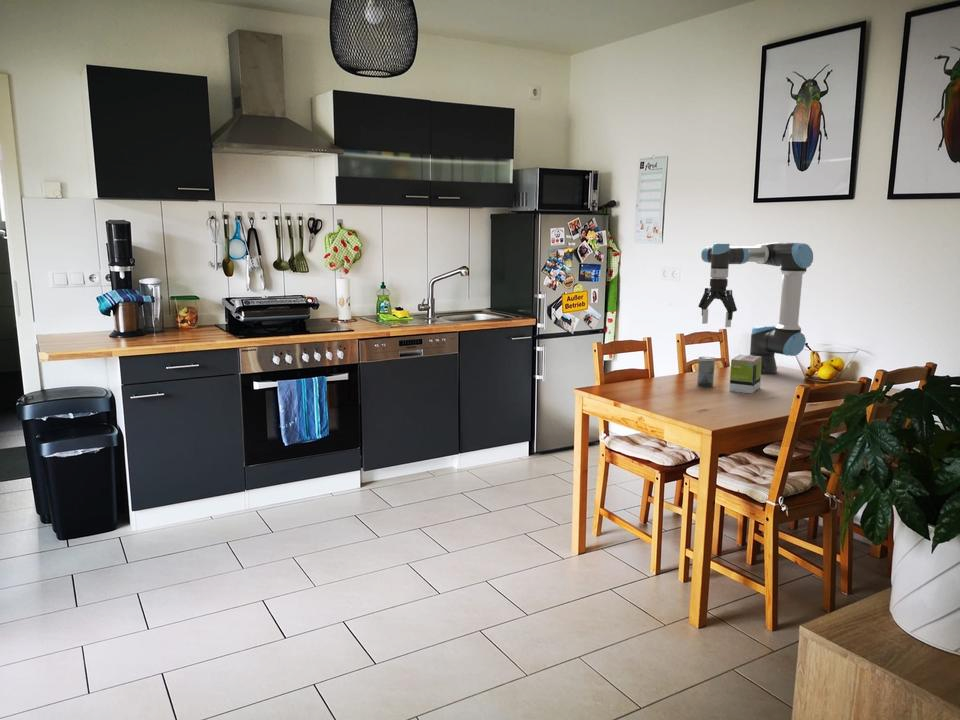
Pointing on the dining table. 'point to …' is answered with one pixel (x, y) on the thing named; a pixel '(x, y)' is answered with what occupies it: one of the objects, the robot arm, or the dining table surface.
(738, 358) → the tea box
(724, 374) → the dining table surface
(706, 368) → the tin canister
